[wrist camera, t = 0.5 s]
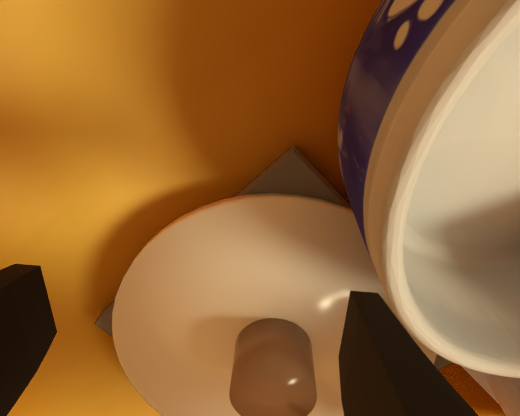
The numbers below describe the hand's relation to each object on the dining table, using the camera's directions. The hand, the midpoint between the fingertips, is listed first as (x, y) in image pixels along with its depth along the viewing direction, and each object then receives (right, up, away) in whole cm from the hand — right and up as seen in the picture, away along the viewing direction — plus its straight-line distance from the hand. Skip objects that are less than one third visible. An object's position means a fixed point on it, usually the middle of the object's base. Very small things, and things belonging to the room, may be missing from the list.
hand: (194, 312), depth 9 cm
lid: (+2, -5, +12) cm, 13 cm away
